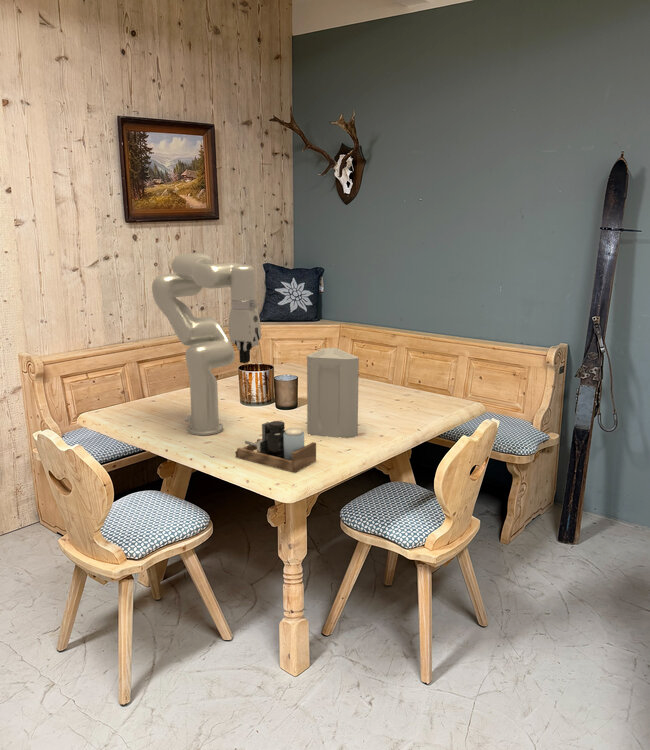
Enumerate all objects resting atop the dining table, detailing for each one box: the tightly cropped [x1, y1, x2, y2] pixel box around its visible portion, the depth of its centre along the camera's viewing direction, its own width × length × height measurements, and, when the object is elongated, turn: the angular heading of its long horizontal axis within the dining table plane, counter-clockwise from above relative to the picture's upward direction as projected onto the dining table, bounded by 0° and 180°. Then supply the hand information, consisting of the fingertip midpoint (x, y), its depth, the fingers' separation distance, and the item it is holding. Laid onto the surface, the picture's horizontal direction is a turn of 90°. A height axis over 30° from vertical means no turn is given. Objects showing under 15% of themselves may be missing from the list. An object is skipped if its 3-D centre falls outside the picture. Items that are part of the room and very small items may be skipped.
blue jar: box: [284, 427, 305, 461], centre depth 205 cm, size 6×6×11 cm
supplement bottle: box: [266, 420, 286, 459], centre depth 208 cm, size 7×7×12 cm
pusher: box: [244, 421, 271, 454], centre depth 213 cm, size 9×8×11 cm
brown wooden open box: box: [235, 438, 317, 473], centre depth 209 cm, size 23×11×6 cm, turn 57°
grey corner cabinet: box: [306, 347, 360, 439], centre depth 233 cm, size 19×15×28 cm
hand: (244, 362), depth 213 cm, fingers closed
